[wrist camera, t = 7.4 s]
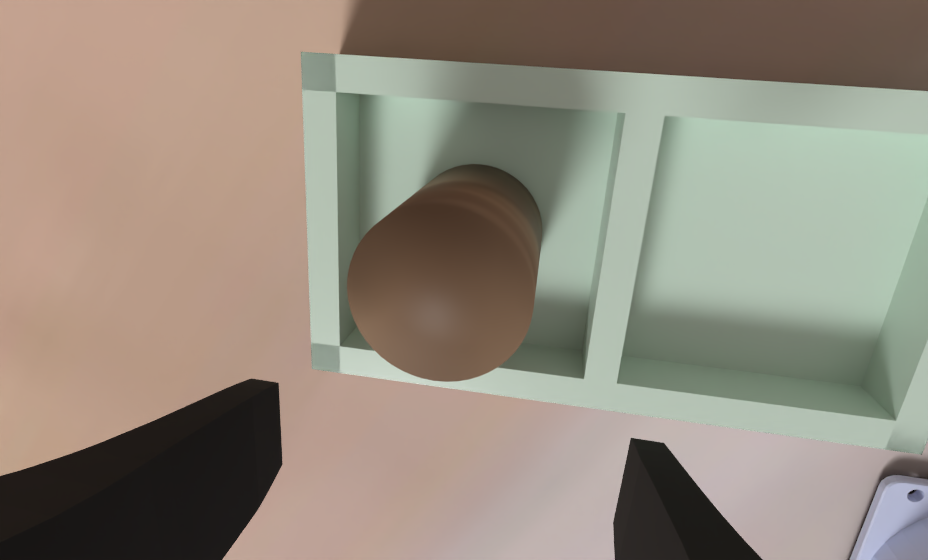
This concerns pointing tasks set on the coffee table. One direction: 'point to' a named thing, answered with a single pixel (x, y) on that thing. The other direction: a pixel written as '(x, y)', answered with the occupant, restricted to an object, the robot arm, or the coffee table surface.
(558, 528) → the coffee table surface
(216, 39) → the coffee table surface
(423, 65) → the holder tray
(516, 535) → the coffee table surface
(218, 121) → the coffee table surface
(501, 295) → the cylinder
